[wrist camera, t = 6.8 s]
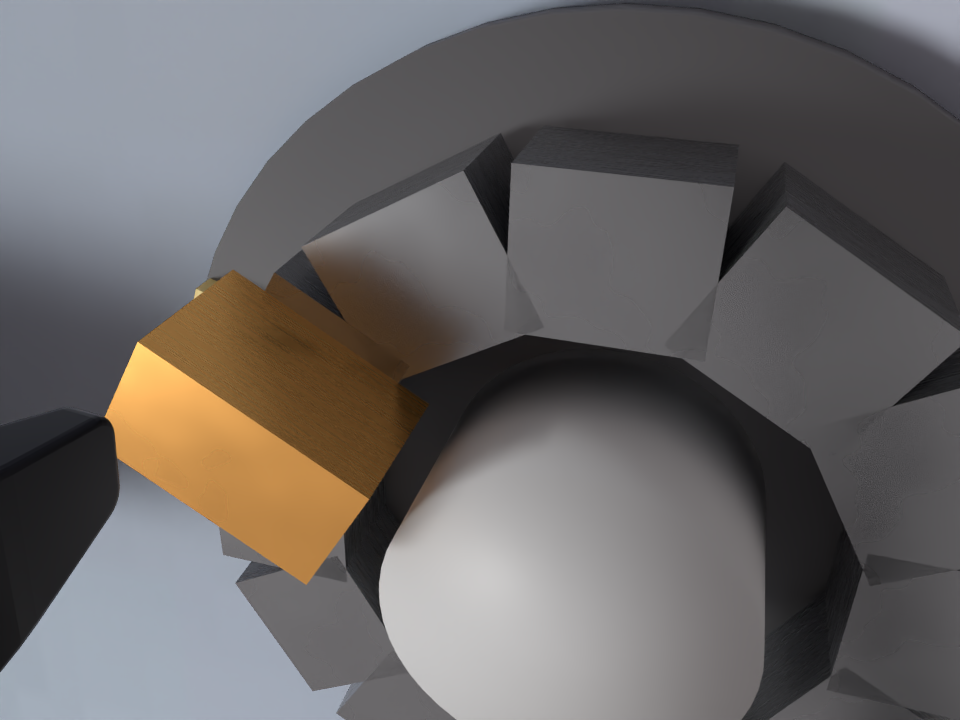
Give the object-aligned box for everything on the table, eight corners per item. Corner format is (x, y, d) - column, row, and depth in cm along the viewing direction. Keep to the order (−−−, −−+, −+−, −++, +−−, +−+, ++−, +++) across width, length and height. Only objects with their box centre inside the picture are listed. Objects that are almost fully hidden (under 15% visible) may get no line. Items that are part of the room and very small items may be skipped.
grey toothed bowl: (448, -81, 15) (311, -55, 11) (1227, 481, 16) (1405, 726, 12) (152, 493, 24) (5, 643, 19) (670, 840, 25) (647, 1063, 20)
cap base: (1401, 296, 15) (1676, 488, 11) (782, 869, 26) (785, 1090, 21) (328, -180, 16) (151, -196, 12) (160, 558, 27) (33, 704, 22)
